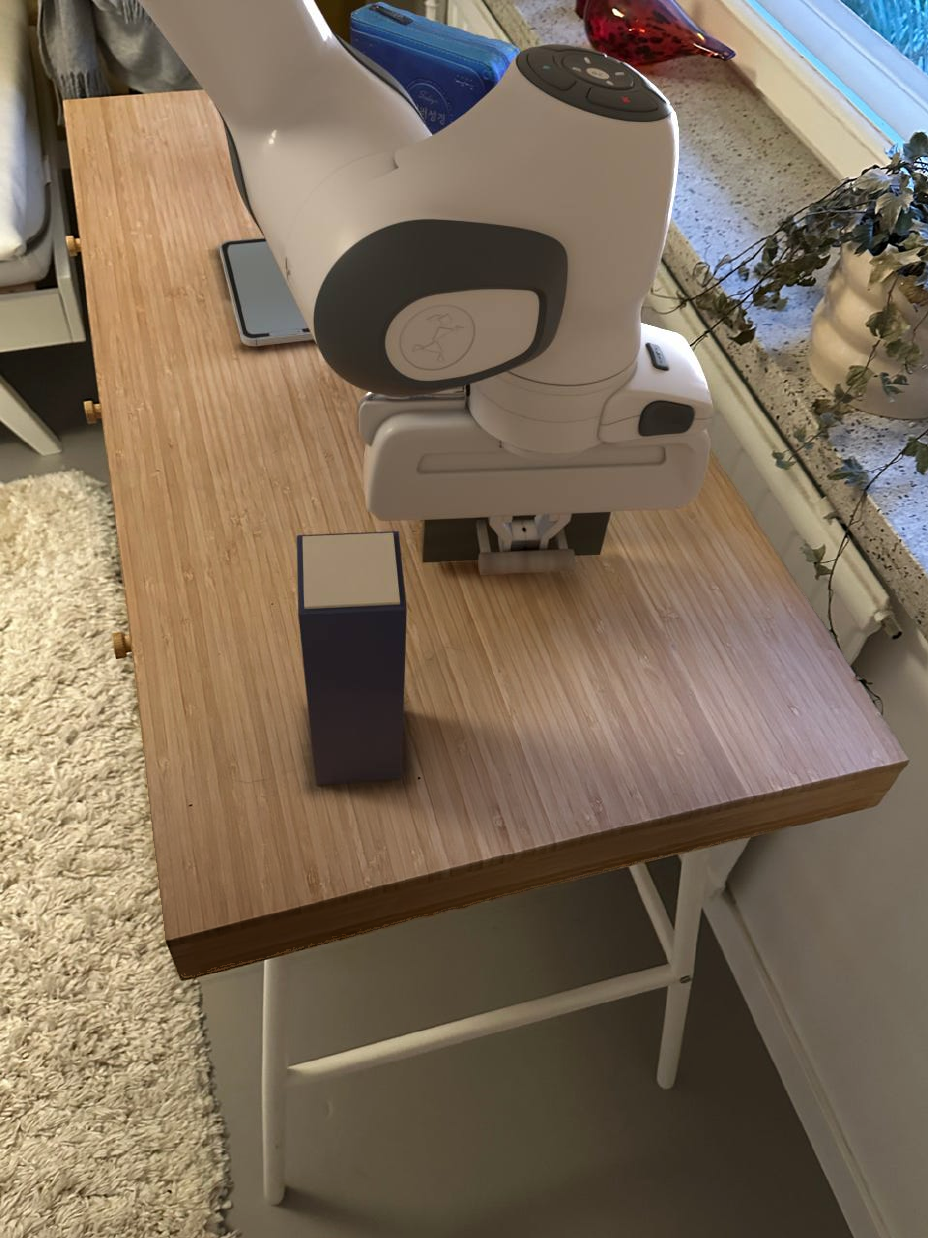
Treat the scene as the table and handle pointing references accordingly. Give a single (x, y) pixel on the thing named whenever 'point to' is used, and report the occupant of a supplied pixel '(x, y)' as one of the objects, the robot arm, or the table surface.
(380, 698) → the box
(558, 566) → the drawer
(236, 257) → the smartphone
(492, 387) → the robot arm
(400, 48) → the book
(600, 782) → the table surface
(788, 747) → the table surface
